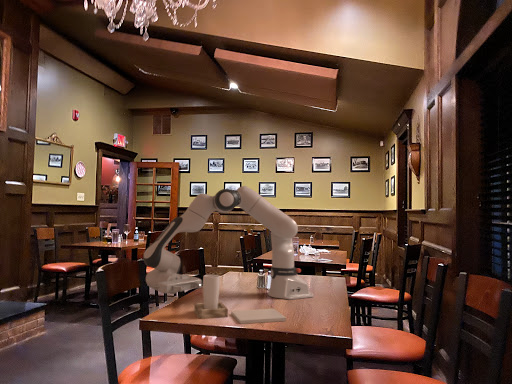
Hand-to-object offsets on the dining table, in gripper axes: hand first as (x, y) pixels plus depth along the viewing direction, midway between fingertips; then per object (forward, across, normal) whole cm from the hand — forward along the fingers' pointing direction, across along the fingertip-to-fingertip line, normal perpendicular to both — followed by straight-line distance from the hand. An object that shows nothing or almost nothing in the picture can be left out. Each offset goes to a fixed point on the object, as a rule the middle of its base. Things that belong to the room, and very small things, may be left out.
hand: (191, 287), depth 157 cm
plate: (+29, +10, +8) cm, 31 cm away
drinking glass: (+12, 0, +9) cm, 15 cm away
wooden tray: (+12, 0, +8) cm, 15 cm away
